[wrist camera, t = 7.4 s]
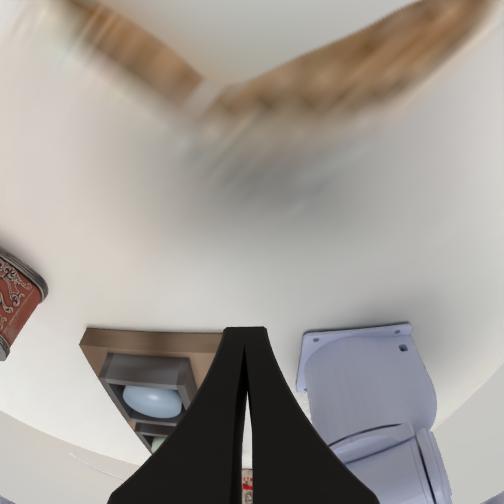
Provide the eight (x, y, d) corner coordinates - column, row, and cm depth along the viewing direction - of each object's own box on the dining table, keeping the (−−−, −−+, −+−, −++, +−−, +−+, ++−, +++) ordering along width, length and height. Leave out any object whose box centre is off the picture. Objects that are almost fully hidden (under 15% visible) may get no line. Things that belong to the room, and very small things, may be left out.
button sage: (195, 432, 25) (193, 448, 24) (202, 449, 28) (201, 464, 26) (148, 428, 25) (145, 443, 24) (160, 446, 28) (158, 459, 26)
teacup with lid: (273, 468, 40) (276, 531, 30) (262, 482, 45) (264, 535, 35) (198, 464, 39) (193, 528, 29) (197, 478, 44) (193, 532, 34)
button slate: (177, 370, 22) (173, 389, 20) (188, 402, 24) (186, 420, 23) (120, 366, 22) (114, 384, 20) (137, 398, 24) (133, 414, 23)
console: (224, 333, 23) (221, 381, 19) (241, 454, 36) (241, 482, 32) (87, 328, 23) (67, 368, 19) (159, 449, 36) (155, 476, 32)
